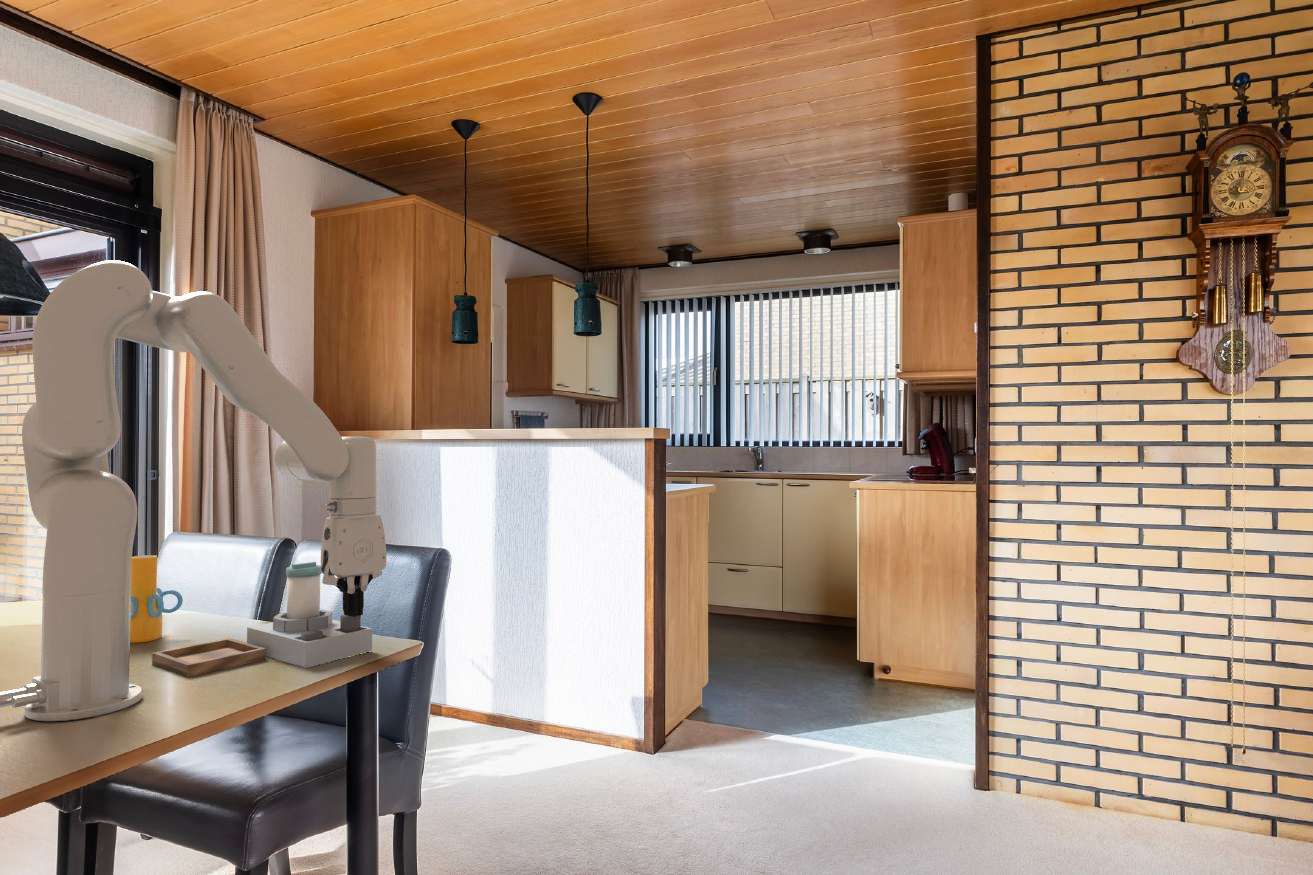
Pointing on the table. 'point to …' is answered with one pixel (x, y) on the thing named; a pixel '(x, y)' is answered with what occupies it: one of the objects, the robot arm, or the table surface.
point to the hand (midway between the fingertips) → (353, 614)
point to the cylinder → (147, 600)
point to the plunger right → (350, 623)
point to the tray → (208, 656)
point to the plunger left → (311, 635)
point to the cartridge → (303, 590)
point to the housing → (289, 647)
